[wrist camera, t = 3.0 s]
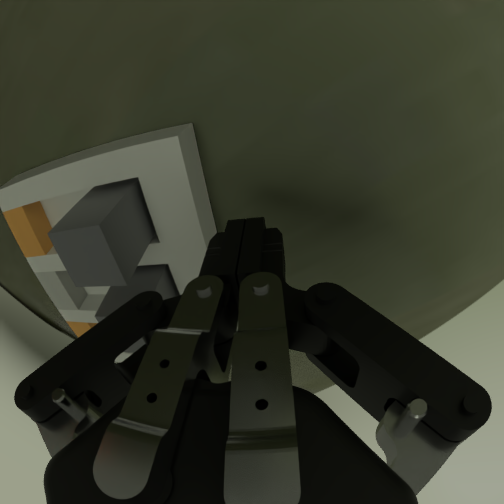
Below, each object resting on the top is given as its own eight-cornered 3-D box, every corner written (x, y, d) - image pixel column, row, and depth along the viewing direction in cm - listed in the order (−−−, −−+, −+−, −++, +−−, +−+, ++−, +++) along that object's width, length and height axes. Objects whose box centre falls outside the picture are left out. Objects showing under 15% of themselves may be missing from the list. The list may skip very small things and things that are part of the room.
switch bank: (104, 338, 30) (95, 359, 28) (16, 175, 18) (-6, 192, 16) (244, 341, 28) (242, 367, 26) (192, 122, 16) (177, 135, 14)
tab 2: (144, 291, 23) (119, 351, 18) (127, 255, 21) (94, 316, 16) (185, 290, 23) (165, 354, 18) (171, 252, 20) (144, 317, 16)
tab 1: (116, 228, 20) (76, 286, 15) (98, 182, 17) (47, 233, 13) (161, 222, 19) (127, 285, 14) (145, 172, 17) (99, 225, 12)
